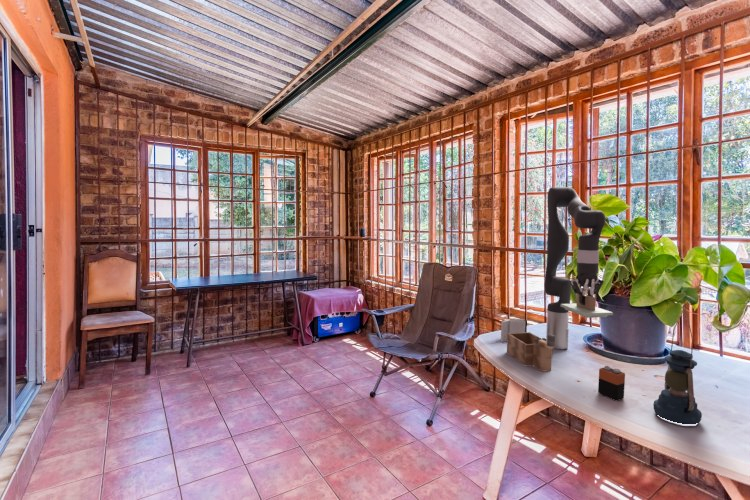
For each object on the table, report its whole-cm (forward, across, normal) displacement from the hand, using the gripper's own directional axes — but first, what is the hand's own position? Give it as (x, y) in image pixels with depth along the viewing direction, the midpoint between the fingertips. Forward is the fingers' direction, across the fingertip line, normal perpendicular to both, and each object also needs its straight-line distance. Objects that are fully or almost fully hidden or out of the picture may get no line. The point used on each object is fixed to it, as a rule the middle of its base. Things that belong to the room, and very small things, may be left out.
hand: (585, 304), depth 157 cm
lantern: (+27, -4, +38) cm, 47 cm away
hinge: (+27, +9, -41) cm, 50 cm away
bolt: (+17, +15, -2) cm, 23 cm away
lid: (+3, 0, 0) cm, 3 cm away
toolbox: (+27, +15, -13) cm, 34 cm away
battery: (+27, +5, +22) cm, 35 cm away
